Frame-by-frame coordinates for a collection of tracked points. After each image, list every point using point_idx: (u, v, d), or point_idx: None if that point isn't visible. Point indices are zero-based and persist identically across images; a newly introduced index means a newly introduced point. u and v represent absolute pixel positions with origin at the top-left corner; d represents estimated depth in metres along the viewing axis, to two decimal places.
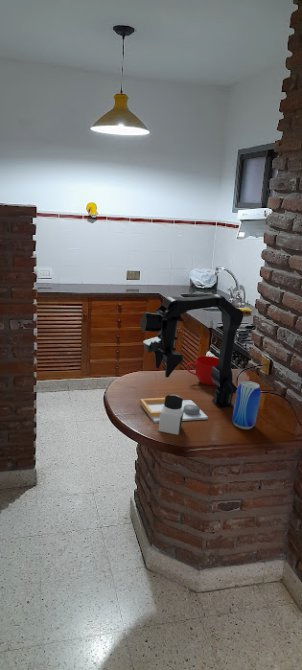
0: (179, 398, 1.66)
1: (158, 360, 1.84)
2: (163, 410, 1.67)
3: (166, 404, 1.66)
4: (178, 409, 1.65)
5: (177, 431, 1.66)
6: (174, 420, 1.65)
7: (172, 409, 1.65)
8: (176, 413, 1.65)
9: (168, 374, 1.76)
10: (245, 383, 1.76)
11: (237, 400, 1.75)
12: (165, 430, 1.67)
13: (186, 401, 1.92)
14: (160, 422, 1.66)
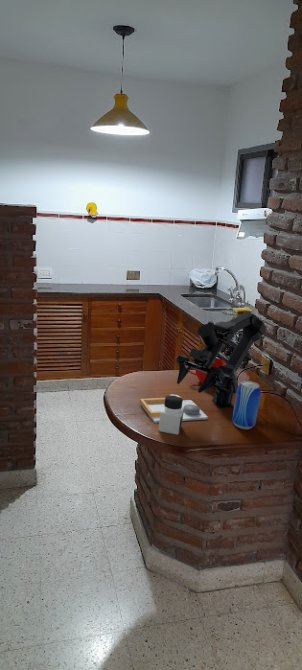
0: (179, 398, 1.66)
1: (181, 376, 1.76)
2: (163, 410, 1.67)
3: (166, 404, 1.66)
4: (178, 409, 1.65)
5: (177, 431, 1.66)
6: (174, 420, 1.65)
7: (172, 409, 1.65)
8: (176, 413, 1.65)
9: (202, 390, 1.70)
10: (245, 383, 1.76)
11: (237, 400, 1.75)
12: (165, 430, 1.67)
13: (186, 401, 1.92)
14: (160, 422, 1.66)
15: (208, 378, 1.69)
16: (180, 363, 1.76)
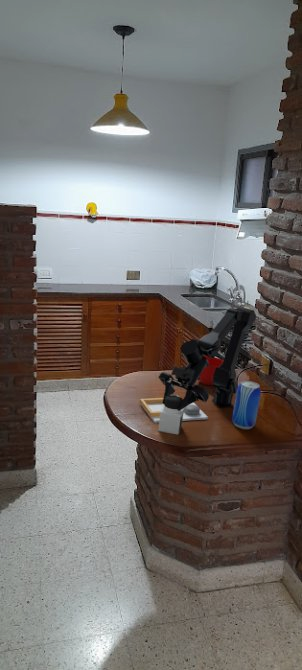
0: (179, 398, 1.66)
1: None
2: (163, 410, 1.67)
3: (166, 404, 1.66)
4: None
5: (177, 431, 1.66)
6: (174, 420, 1.65)
7: (172, 409, 1.65)
8: (176, 413, 1.65)
9: (181, 408, 1.65)
10: (245, 383, 1.76)
11: (237, 400, 1.75)
12: (165, 430, 1.67)
13: None
14: (160, 422, 1.66)
15: (188, 396, 1.64)
16: (166, 382, 1.70)
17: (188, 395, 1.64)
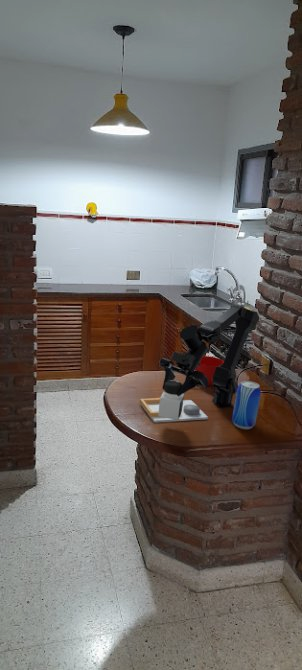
0: (179, 383, 1.66)
1: None
2: (163, 395, 1.67)
3: (166, 389, 1.66)
4: None
5: (177, 416, 1.66)
6: (174, 405, 1.65)
7: (172, 394, 1.65)
8: (176, 398, 1.66)
9: (181, 393, 1.65)
10: (245, 383, 1.76)
11: (237, 400, 1.75)
12: (165, 415, 1.67)
13: (186, 401, 1.92)
14: (160, 407, 1.67)
15: (187, 381, 1.64)
16: (166, 368, 1.70)
17: (187, 380, 1.64)
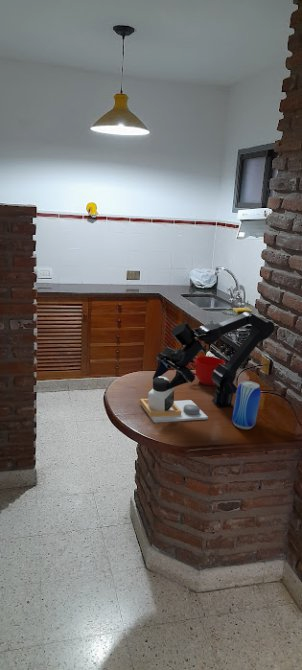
0: (165, 381, 1.76)
1: (158, 373, 1.84)
2: (151, 391, 1.79)
3: (153, 386, 1.77)
4: (163, 391, 1.76)
5: None
6: (160, 401, 1.77)
7: (157, 391, 1.76)
8: (161, 395, 1.77)
9: (170, 387, 1.76)
10: (245, 383, 1.76)
11: (237, 400, 1.75)
12: (153, 409, 1.80)
13: (186, 401, 1.92)
14: (149, 401, 1.80)
15: (176, 376, 1.74)
16: (158, 360, 1.84)
17: (177, 375, 1.74)
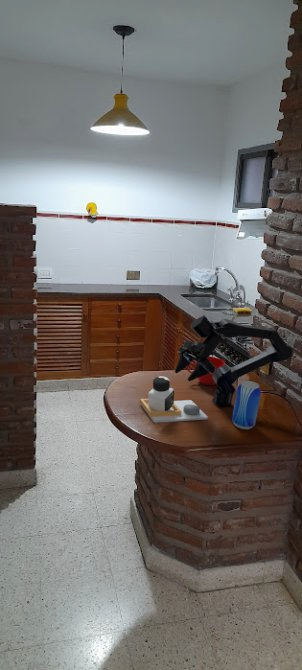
0: (165, 381, 1.76)
1: (180, 366, 1.89)
2: (151, 391, 1.79)
3: (153, 386, 1.77)
4: (163, 391, 1.76)
5: None
6: (160, 401, 1.77)
7: (158, 391, 1.76)
8: (162, 395, 1.77)
9: (191, 378, 1.80)
10: (245, 383, 1.76)
11: (237, 400, 1.75)
12: (153, 409, 1.80)
13: (186, 401, 1.92)
14: (149, 401, 1.80)
15: (197, 368, 1.79)
16: (180, 354, 1.89)
17: (197, 367, 1.79)
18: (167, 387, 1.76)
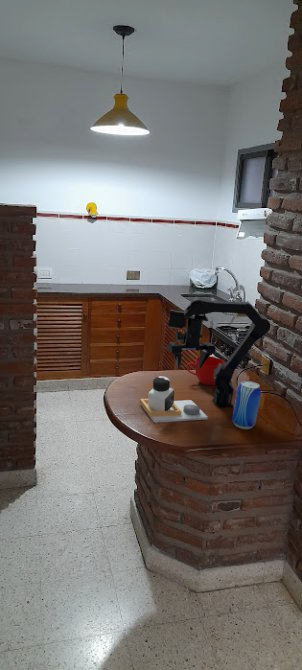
0: (165, 381, 1.76)
1: (200, 361, 1.93)
2: (151, 391, 1.79)
3: (153, 386, 1.77)
4: (163, 391, 1.76)
5: None
6: (160, 401, 1.77)
7: (158, 391, 1.76)
8: (162, 395, 1.77)
9: (177, 365, 1.90)
10: (245, 383, 1.76)
11: (237, 400, 1.75)
12: (153, 409, 1.80)
13: (186, 401, 1.92)
14: (149, 401, 1.80)
15: None
16: None
17: None
18: (167, 387, 1.76)
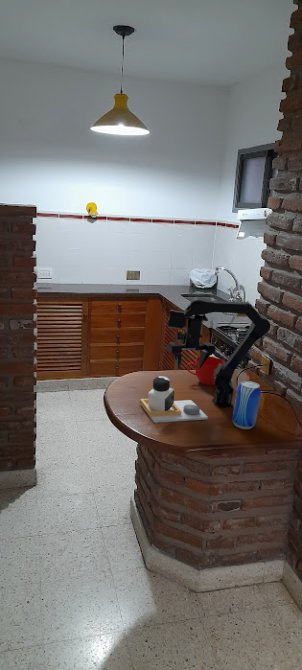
0: (165, 381, 1.76)
1: (200, 361, 1.93)
2: (151, 391, 1.79)
3: (153, 386, 1.77)
4: (163, 391, 1.76)
5: None
6: (160, 401, 1.77)
7: (158, 391, 1.76)
8: (162, 395, 1.77)
9: (177, 365, 1.90)
10: (245, 383, 1.76)
11: (237, 400, 1.75)
12: (153, 409, 1.80)
13: (186, 401, 1.92)
14: (149, 401, 1.80)
15: None
16: None
17: None
18: (167, 387, 1.76)
